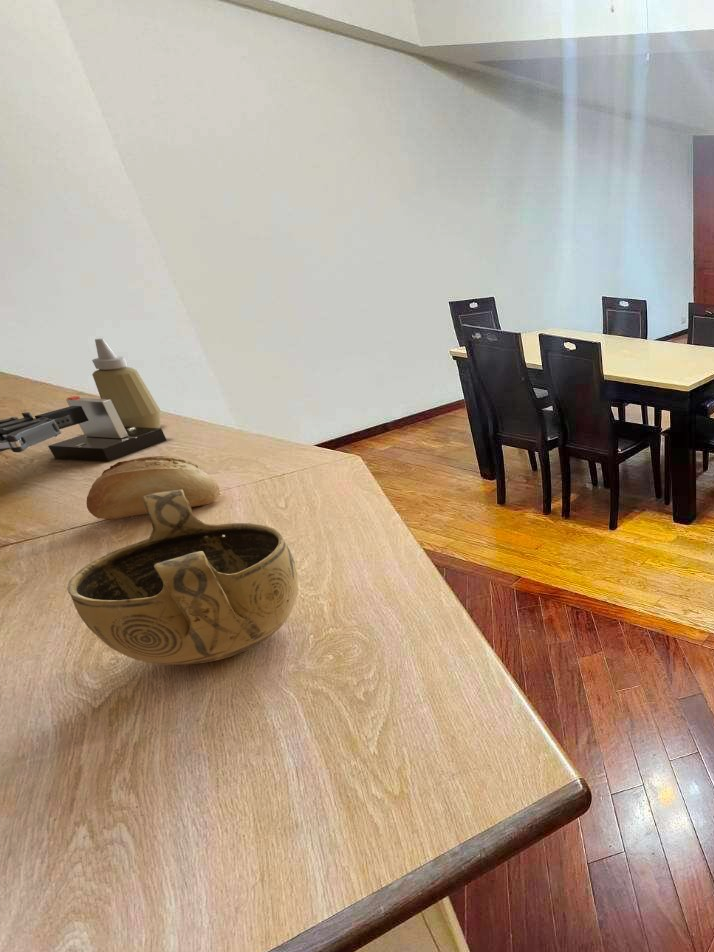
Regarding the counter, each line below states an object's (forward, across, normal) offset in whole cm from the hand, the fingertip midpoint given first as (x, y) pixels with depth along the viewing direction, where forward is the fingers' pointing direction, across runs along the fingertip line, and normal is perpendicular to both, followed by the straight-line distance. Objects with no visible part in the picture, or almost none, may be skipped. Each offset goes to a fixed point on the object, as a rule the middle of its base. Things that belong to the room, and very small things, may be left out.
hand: (80, 413), depth 106 cm
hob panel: (+2, 0, -8) cm, 8 cm away
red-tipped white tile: (+2, 0, -5) cm, 6 cm away
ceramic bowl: (-52, +65, -8) cm, 83 cm away
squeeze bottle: (+14, -5, -8) cm, 16 cm away
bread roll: (-21, +30, -8) cm, 38 cm away
